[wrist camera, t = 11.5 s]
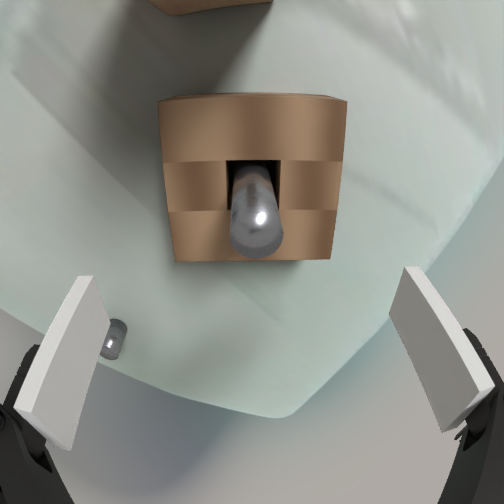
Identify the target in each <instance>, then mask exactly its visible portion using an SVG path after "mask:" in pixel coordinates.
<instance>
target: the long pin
mask: <svg viewBox="0 0 504 504" xmlns="http://www.w3.org/2000/svg"><path fill="white" fill-rule="evenodd" d="M229 237H230V242H231V244H232V246H233V248H234V249H235V250H236V251H237V252H238V253H239V254H241V255H243V256H245V257H248V258H253V259H259V258H264V257H267V256H269V255H271V254H273V253H274V252H275V251H276V250H277V249H278V248H279V247H280V245H281V243H282V241H283V228H282V224H281V220H280V215H279V211H278V207H277V203H276V199H275V195H274V191H273V187H272V183H271V179H270V175H269V171H268V167H267V163H266V160H236V161H235V170H234V182H233V195H232V207H231V221H230V235H229Z"/></svg>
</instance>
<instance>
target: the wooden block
mask: <svg viewBox="0 0 504 504" xmlns="http://www.w3.org/2000/svg"><path fill="white" fill-rule="evenodd" d="M148 1H149V2H151V3H152V4H154V5H155V6H157V7H158V8H159V9H161V10H162V11H163V12H165V13H166V14H168V15H173V16H178V15H182V14H187V13H192V12H197V11H202V10H208V9H214V8H220V7H227V6H234V5H242V4H251V3H262V2H270V1H272V0H148Z"/></svg>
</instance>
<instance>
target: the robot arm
mask: <svg viewBox="0 0 504 504" xmlns="http://www.w3.org/2000/svg"><path fill="white" fill-rule="evenodd" d="M389 316H390V318H391V319H392V322H393V323H394V326H395V327H396V330H397V332H398V334H399V336H400V338H401V340H402V342H403V344H404V346H405V348H406V350H407V352H408V355H409V357H410V359H411V361H412V363H413V365H414V368H415V370H416V372H417V374H418V376H419V379H420V381H421V383H422V386H423V388H424V390H425V392H426V395H427V397H428V400H429V402H430V405H431V407H432V409H433V412H434V414H435V417H436V419H437V422H438V424H439V427H440V430H441V432H442V433H443V432H446V431H448V430H451V429H454V428H457V427H458V426H459V425H460V424H461V423H462V422H463V421H464V420H466V423H467V425H466V427H464V428H463V429H462V430H461V431H460V432H459V433H458V434H457V435H456V437H455V439H454V440H457V439H458V438H459V437H460V436H461V435H462V437H461V440H460V445H459V447H458V451H457V454H456V457H455V460H454V463H453V466H452V469H451V471H450V474H449V477H448V479H447V482H446V484H445V487H444V489H443V492H442V494H441V497H440V499H439V501H438V504H504V382H503V381H502V379H501V377H500V376H499V374H498V372H497V370H496V368H495V367H494V365H493V363H492V361H491V360H490V358H489V356H487V353H486V351H485V350H484V348H482V345H481V343H480V342H479V340H478V339H477V337H476V336H475V335H474V334H473V333H472V332H470V330H468V329H467V328H465V329H462V328H461V327H460V325H459V324H458V322H457V320H456V319H455V317H454V316H453V314H452V313H451V311H450V310H449V309H448V307H447V305H446V304H445V302H444V301H443V300H442V298H441V297H440V295H439V294H438V292H437V291H436V289H435V288H434V287H433V285H432V284H431V283H430V281H429V280H428V278H427V277H426V276H425V274H424V273H423V271H422V270H421V269H420V267H419V266H412V267H404V270H403V273H402V276H401V279H400V283H399V286H398V289H397V292H396V295H395V297H394V300H393V303H392V306H391V309H390V312H389ZM110 324H111V323H110V320H109V317H108V315H107V312H106V310H105V307H104V304H103V302H102V299H101V296H100V293H99V291H98V288H97V285H96V282H95V279H94V276H78V277H77V279H76V281H75V282H74V284H73V286H72V288H71V289H70V291H69V293H68V294H67V296H66V298H65V300H64V302H63V303H62V305H61V307H60V309H59V311H58V312H57V314H56V316H55V318H54V320H53V322H52V324H51V326H50V328H49V330H48V331H47V333H46V335H45V337H44V339H43V341H42V343H41V345H34V346H33V347H32V348H31V349H30V350H29V351H28V352H27V353H26V354H25V356H24V358H23V361H22V363H21V367H19V369H18V371H17V375H16V376H15V378H14V380H13V382H12V384H11V387H10V389H9V391H8V394H7V396H6V399H5V401H4V403H3V405H1V404H0V504H74V502H73V500H72V499H71V497H70V495H69V493H68V491H67V489H66V487H65V485H64V483H63V481H62V479H61V477H60V475H59V473H58V471H57V469H56V467H55V465H54V463H53V460H52V458H51V456H50V454H49V451H48V450H47V449H46V447H45V443H46V440H47V441H49V442H50V443H51V444H52V445H53V446H55V447H58V448H62V449H65V450H69V451H71V449H72V445H73V441H74V437H75V433H76V429H77V425H78V422H79V418H80V414H81V411H82V408H83V404H84V401H85V398H86V394H87V391H88V388H89V385H90V381H91V378H92V375H93V372H94V369H95V366H96V363H97V360H98V357H99V354H100V351H101V348H102V346H103V343H104V340H105V337H106V334H107V332H108V329H109V326H110Z"/></svg>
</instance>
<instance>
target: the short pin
mask: <svg viewBox="0 0 504 504" xmlns="http://www.w3.org/2000/svg"><path fill="white" fill-rule="evenodd" d="M110 323H111V324H110V326H109V329H108V332H107V334H106V337H105V340H104V343H103V346H102V348H101V351H100V355H101V356H102V357H104V358H106V359H109V360H115V359H117V358H118V355H119V352H120V349H121V346H122V343H123V340H124V337H125V335H126V332H127V326H126V325H125V324H124V323H123V322H122V321H120V320H118V319H111V320H110Z"/></svg>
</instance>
